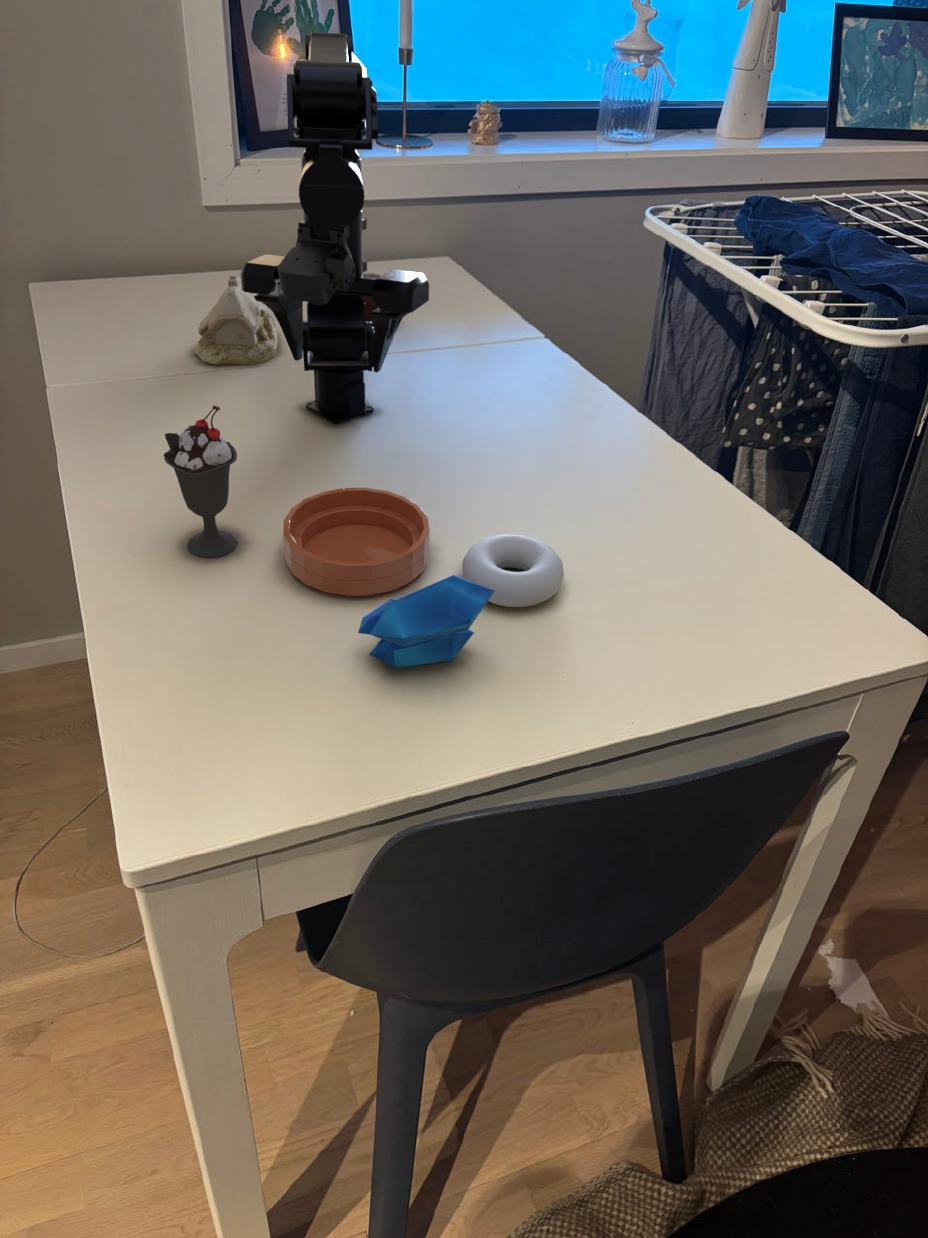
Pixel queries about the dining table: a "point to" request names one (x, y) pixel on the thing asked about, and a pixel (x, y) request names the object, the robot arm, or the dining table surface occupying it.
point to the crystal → (426, 623)
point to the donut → (519, 553)
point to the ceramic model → (237, 329)
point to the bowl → (356, 541)
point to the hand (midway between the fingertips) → (337, 365)
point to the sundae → (204, 482)
